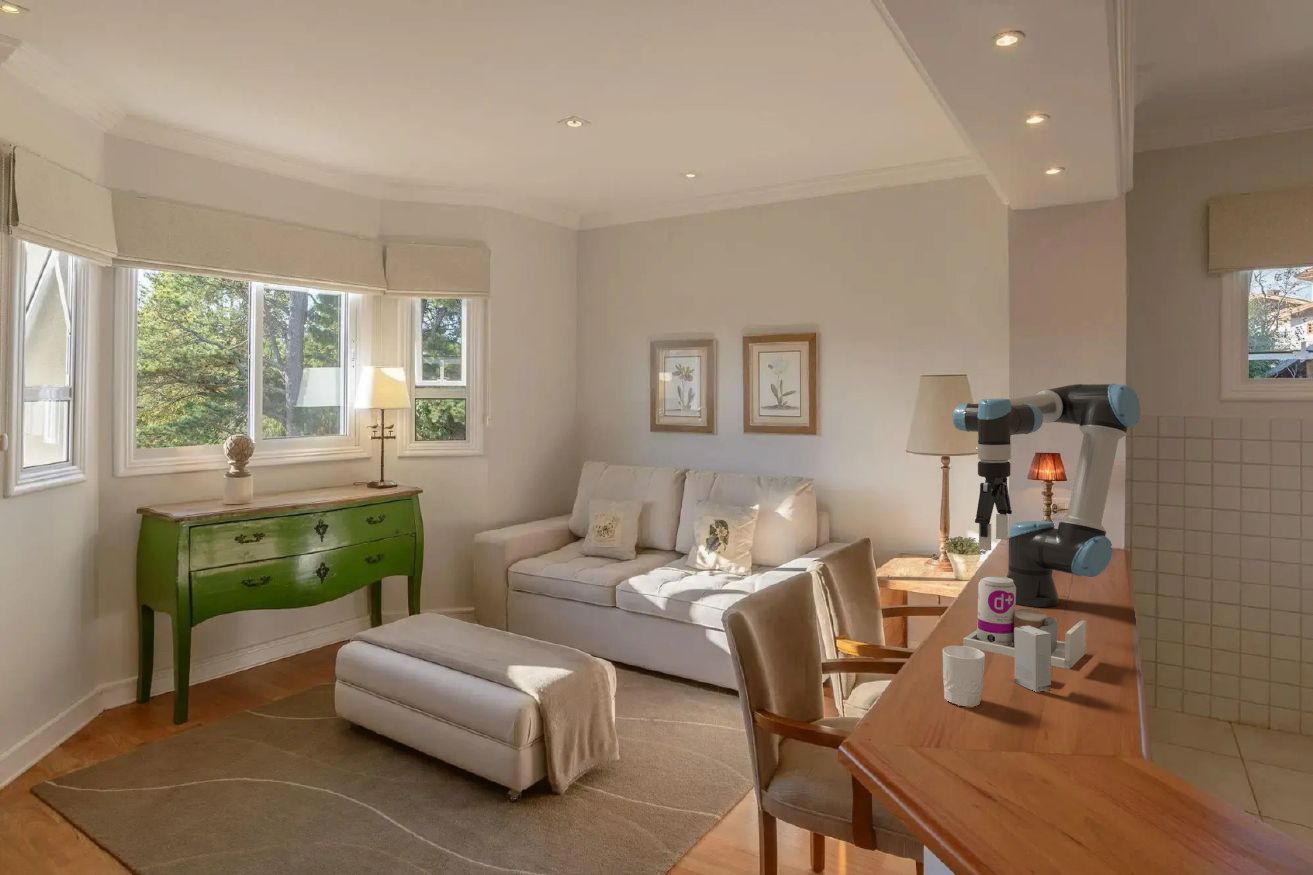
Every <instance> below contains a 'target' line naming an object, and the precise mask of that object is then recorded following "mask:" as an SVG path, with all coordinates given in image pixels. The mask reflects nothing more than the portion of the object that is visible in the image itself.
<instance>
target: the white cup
mask: <svg viewBox="0 0 1313 875" xmlns="http://www.w3.org/2000/svg"><path fill="white" fill-rule="evenodd" d="M941 651H942V676H943V696H944V697H943V698H944V700H945V699H946V700H947V701H949V702H952V703H955V704H958V705H962V706H975V705H979V704H980V705H981V703H982V691H983V686H984V684H983V683H984V677H985V676H984V675H985V674H984V673H985V672H984V671H985V662H986V653H985V652H983V650H979V649H976V648H972V647H967V646H963V645H947V646H945V647H943V648H942V650H941ZM946 700H945V701H946ZM947 701H946V702H947ZM980 702H981V703H980ZM980 705H979V706H980Z"/></svg>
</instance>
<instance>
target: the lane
mask: <svg viewBox="0 0 1313 875" xmlns="http://www.w3.org/2000/svg"><path fill="white" fill-rule="evenodd" d="M1064 635H1065V636H1064V637H1065V639H1064V641H1060V640H1057V649H1056V650H1055V651H1053V652H1052V653H1051V667H1057V668H1062V669H1066V670H1071V668H1073V666H1075V665H1076V663H1078V662H1079V660H1080V659H1082V658H1083V657H1084V656H1085V655H1086V640H1087V637H1086V636H1087V620H1084V619H1081V620H1080V621H1078V622H1077V623H1076V624H1074V626H1072V627H1071V628H1070V629H1068V631H1066V632H1065V634H1064ZM962 646H967V647H972V648H976V649H978V650H981V651H985V652H989V653H992V654H998V655H1002V656H1006V657H1012V658H1015V648H1013V643H1012V644H1011V645H1008V646H1003V645H998V644H993V643H988V642H984V641H980V639H979V638H977V629H976V630H974V631H972V632H971V633H970V634H968V635H966V636H965V637H963V639H962Z"/></svg>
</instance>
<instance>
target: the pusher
mask: <svg viewBox="0 0 1313 875" xmlns="http://www.w3.org/2000/svg"><path fill="white" fill-rule="evenodd" d="M1046 618H1047V619H1045V620H1044V626H1042V627H1041V628H1040V630H1043V631H1045V632H1048V633H1051V653H1052V652H1053V651H1055V650H1056V649H1057V641H1058V627H1059V626H1058V622H1059V619H1058V618H1054V616H1050V615H1049V616H1048V617H1046Z"/></svg>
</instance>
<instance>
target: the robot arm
mask: <svg viewBox="0 0 1313 875" xmlns="http://www.w3.org/2000/svg"><path fill="white" fill-rule="evenodd" d="M1140 418H1141V402H1140V399H1139V397H1138V393H1137V392H1136V391H1135V389H1134V388H1132V387H1131V386H1129V385H1126V384H1116V383H1110V384H1108V383H1106V384H1105V383H1104V384H1103V383H1102V384H1099V383H1098V384H1095V383H1092V384H1091V383H1090V384H1083V383H1079V384H1078V383H1077V384H1068V385H1064V386H1060V387H1055V388H1053V387H1052V388H1050V389H1043V390H1040V391H1039V392H1037V393H1035V395H1027V396H1021V397H1020V396H1019V397H1014V398H984V399H981V400H980V401H979V402H978V403H971V402H970V403H969V402H968V403H960V404H958V405H956V406H955V407H954V409H953V411H952V423H953V425H954V428H955V429H956V430H959V431H962V432H967V433H970V432H971V433H972V432H973V433H977V432H978V433H977V434H978V435H977V436H978V437H977V446H976V448H975V449H976V451H977V459H978V460H979V461H978V462H977V475H978V477H981V478H985V480H984V482H981V483H979V495H978V503H977V509H976V515H975V519H974V523H975V524H978V550H983V551H992V523H991V520H992V519H991V518H992V514H993V511H994V506H995V508H996V511H997V513H996V514H995V539H996V540H1001V541H1002V540H1004V541H1008V567H1007V568H1008V569H1007V575H1006V577H1007V578H1010V579H1012V580H1013V582H1014V584H1015V586H1016V605H1019V606H1027V607H1034V608H1035V607H1037V608H1039V607H1040V608H1045V607H1046V608H1047V607H1053V606H1057V605H1059V593H1058V590H1057V586H1056V583H1055V580H1054V577H1053V571H1058V572H1060V573H1061V572H1062V573H1066V574H1071V575H1074V576H1078V577H1087V578H1095V577H1098V576H1099V575H1101V574H1102V573H1104V571H1105V570H1106V569H1107V568H1108V566H1109V564H1110V561H1111V559H1112V557H1113V556H1112V555H1113V547H1112V546H1113V545H1112V542H1111V540H1110V539H1109V538H1108V537H1107V530H1106V529H1105V527H1104V526H1103V525H1102V522H1103V519H1104V514H1105V508H1106V502H1107V497H1108V494H1109V493H1108V492H1109V488H1110V484H1111V479H1112V474H1113V469H1114V468H1113V467H1114V464H1115V458H1116V454H1117V449H1118V444H1119V440H1121V439H1122V438H1124V437H1126V436H1127V432H1128V428H1132V427H1135V426H1136V425H1138V423H1139V421H1140ZM1044 423H1045V424H1051V423H1061V424H1062V423H1063V424H1070V425H1079V427H1078V428H1079V430H1080V431H1081V433H1082V434H1083V436H1082V441H1081V447H1080V451H1079V456H1078V460H1077V466H1076V470H1075V475H1074V479H1073V480H1074V481H1073V484H1072V489H1071V494H1070V499H1069V503H1068V509H1067V514H1066V516H1065V518H1063V519H1061V520H1060V521H1058V527H1057V528H1055V523H1054V522H1053V521H1046V520H1032V521H1019V522H1014V523H1012V524H1011V525H1010V527H1009V515H1012V512H1013V511H1012V510H1011V509H1012V506H1011V500H1010V495H1009V489H1008V488H1009V487H1008V477H1010V476H1011V462H1010V460H1011V459H1012V458H1011V457H1012V455H1011V454H1012V451H1011V450H1012V448H1011V447H1012V444H1011V437H1012V436H1015V435H1017V436H1018V435H1028V434H1031V433H1035V432H1038V431H1039V430H1040V429H1041V427H1042V426H1043V424H1044Z"/></svg>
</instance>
